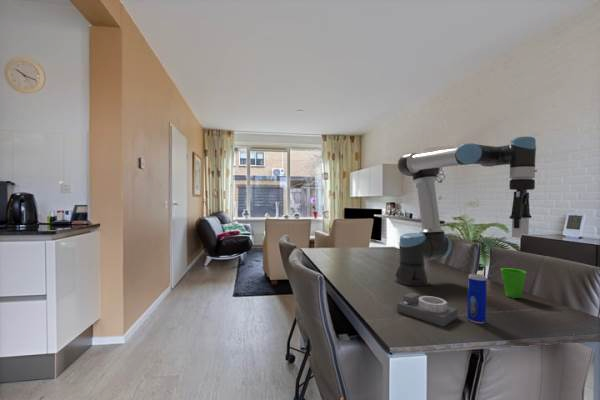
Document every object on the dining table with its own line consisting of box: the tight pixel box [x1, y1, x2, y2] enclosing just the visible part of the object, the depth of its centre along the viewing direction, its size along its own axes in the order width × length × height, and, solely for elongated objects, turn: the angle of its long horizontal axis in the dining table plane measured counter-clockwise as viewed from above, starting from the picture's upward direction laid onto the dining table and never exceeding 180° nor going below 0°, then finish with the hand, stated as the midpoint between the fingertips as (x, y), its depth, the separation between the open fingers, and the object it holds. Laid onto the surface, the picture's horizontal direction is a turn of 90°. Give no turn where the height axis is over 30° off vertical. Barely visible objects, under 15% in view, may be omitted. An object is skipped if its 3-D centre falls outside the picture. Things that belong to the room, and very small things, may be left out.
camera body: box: [396, 291, 458, 327], centre depth 101 cm, size 16×11×6 cm
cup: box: [499, 267, 528, 299], centre depth 122 cm, size 9×9×11 cm
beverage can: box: [467, 273, 487, 325], centre depth 96 cm, size 5×5×15 cm
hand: (520, 236), depth 109 cm, fingers open, 13 cm apart
